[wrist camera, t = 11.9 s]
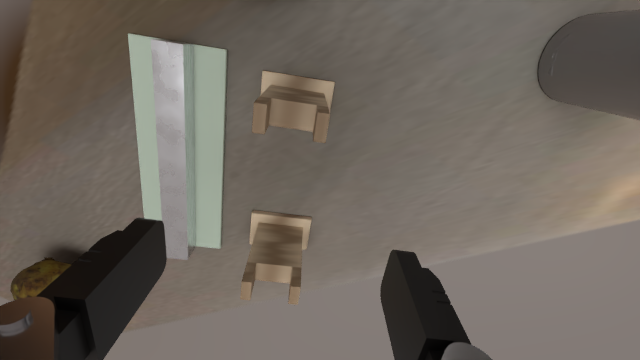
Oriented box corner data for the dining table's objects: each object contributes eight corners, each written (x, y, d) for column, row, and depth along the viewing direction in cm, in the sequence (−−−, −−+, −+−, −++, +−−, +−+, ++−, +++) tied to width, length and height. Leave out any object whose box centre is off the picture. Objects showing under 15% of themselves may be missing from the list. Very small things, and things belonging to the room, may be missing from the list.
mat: (227, 49, 33) (226, 49, 32) (221, 246, 43) (220, 248, 43) (131, 33, 32) (127, 33, 31) (148, 238, 42) (146, 240, 42)
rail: (193, 44, 32) (182, 44, 29) (195, 245, 42) (188, 259, 40) (164, 39, 32) (150, 39, 29) (173, 243, 42) (164, 257, 39)
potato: (114, 309, 48) (79, 358, 40) (39, 257, 43) (-16, 301, 36) (150, 284, 46) (120, 329, 39) (75, 227, 41) (25, 266, 34)
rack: (334, 81, 35) (345, 99, 24) (306, 246, 44) (305, 314, 33) (263, 70, 34) (241, 83, 23) (250, 240, 43) (230, 307, 32)
